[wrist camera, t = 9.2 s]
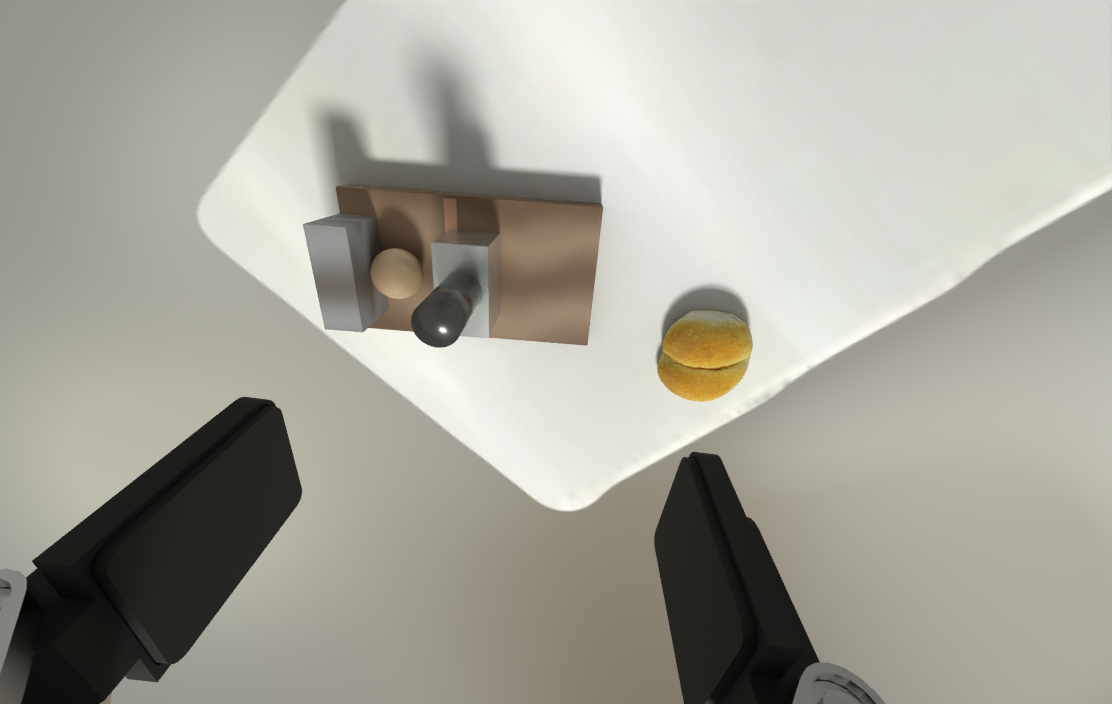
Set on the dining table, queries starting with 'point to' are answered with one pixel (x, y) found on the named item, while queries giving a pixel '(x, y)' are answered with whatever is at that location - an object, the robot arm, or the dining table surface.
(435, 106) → the dining table surface
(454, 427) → the dining table surface
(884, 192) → the dining table surface
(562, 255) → the base
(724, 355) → the bread roll
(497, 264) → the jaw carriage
